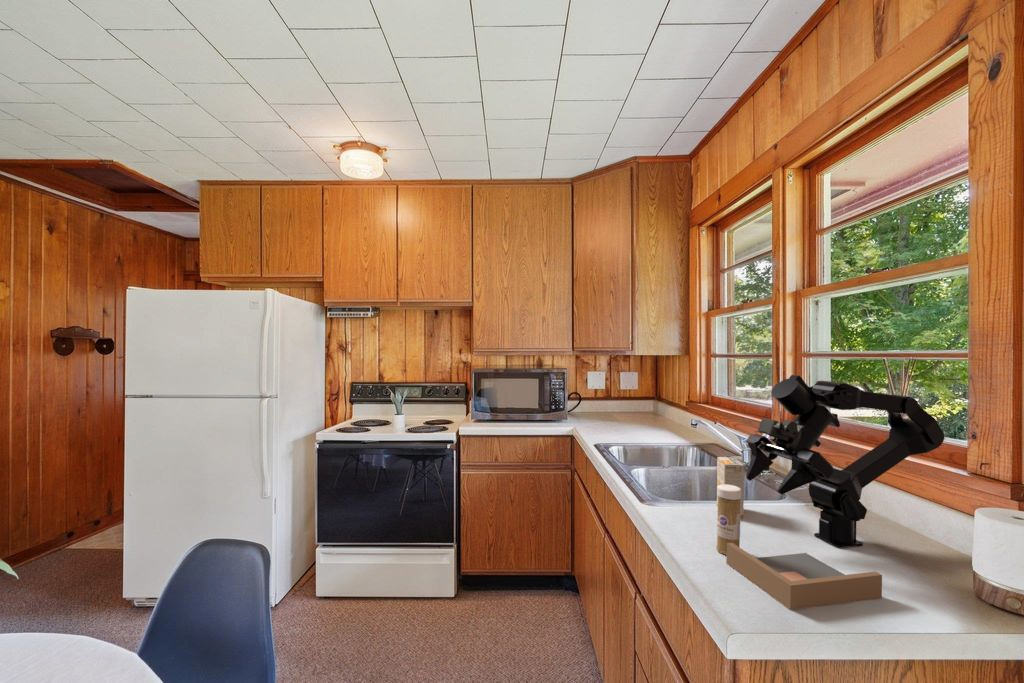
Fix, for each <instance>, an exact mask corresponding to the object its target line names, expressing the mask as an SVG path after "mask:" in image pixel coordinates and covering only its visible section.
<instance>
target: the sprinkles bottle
mask: <svg viewBox="0 0 1024 683" xmlns="http://www.w3.org/2000/svg"><path fill="white" fill-rule="evenodd" d="M717 495H718V506H717V519H716V536H717V537H716V550H717V552H719V553H721V554H723V555H726V556H727V543H733V544H735V545H736V546H738V547H740V545H741V544H740V542H741V541H740V538H741V518H740V500H741V489H740V488H739V487H737V486H733V485H727V484H722V485H719V486H718V487H717V486H716V496H717ZM740 548H741V547H740Z"/></svg>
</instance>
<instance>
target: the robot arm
mask: <svg viewBox="0 0 1024 683" xmlns="http://www.w3.org/2000/svg"><path fill="white" fill-rule="evenodd" d="M771 396H772V398H774V399H775V400H776V401H777V402H778V403H779V404H780V406H781V407H783V408H784V409H785V411H786V412H787V413H788V414H789V415H791V416H795V418H794V419H793V420H788V419H785V420H784V421H783V422H781V421H777V420H773V419H769V418H766V417H761V420H760V423H759V427H758V428H757V432H758V433H761V434H762V433H763V434H765V435H767V436H769V437H770V438H767V436H764V435H761V434H757V433H751V434H750V435H749V436H748V437H747V439H746V440H745V442H746V443H747V446H748V448H749V449H750V452H751V457H750V462H749V465H748V469H747V473H746V476H745V479H746V480H748V481H752V480H754V479H755V478H756V477H758V476H759V475H760V474H762V473H763V472H764V471H765V470H766V469H768V468H769V467H770V466H772V464H774V462H773V461H774V460H776V459H777V458H778V457H780V458H783V459H786V460H789V461H791V468H790V470H789V471H788V473H787V475H785V477H784V478H783V480H782V481H781V483H780V485H779V486H778V488H777V493H778V494H780V495H784V494H786V493H789V492H791V491H793V490H795V489H797V488H800V487H802V486H805V485H808V484H809V485H808V493H809V496H810V498H811V502H812V504H813V508H817V509H819V510H820V517H819V520H818V532H815V533H814V534H813V536H814V537H816V538H817V539H820V540H822V541H824V542H826V543H827V544H830V545H832V546H833V547H836V548H841V549H842V548H850V547H859V546H860V547H861V546H863V545H864V543H863V542H862V541H860V540H858V539H857V522H860V520H865V518H866V515H867V511H868V509H867V507H866V506H865V505H864V504H863V503H862V502H861V501H860V500H861V498H862V497H861V496H862V491H863V489H864V488H865V487H867V486H868V485H870V483H872V482H873V481H876V480H877V478H879V477H881V476H882V475H883V474H885V473H887V472H888V471H889V470H890V469H892V468H894V467H895V466H897V465H898V464H899V463H901V462H902V461H904V460H905V459H907V458H908V457H910V456H914V455H915V456H916V455H917V456H918V455H922V454H927V453H930V452H933V451H934V450H937V449H938V448H939V447H941V446H942V444H944V443H943V442H944V440H945V433H944V431H943V429H942V428H941V426H940V424H939V423H938V421H937V420H936V418H935V417H934V416H932V415H931V414H930V413H928V411H926V410H925V409H924V408H922V407H921V405H920V404H919V403H918V401H917V399H916V398H914V397H912V396H909V395H900V394H885V393H880V392H872V391H866V390H862V389H860V388H859V387H858V386H855V385H852V384H850V383H846V382H837V381H829V380H818V381H817V380H816V382H815V383H814V385H812V386H809V385H808V384H807V383H806V381H804V379H803V378H802V377H801V376H800V375H796V374H795V375H794V374H791V375H790V376H789V377H788V378H785V379H783V380H781V381H779V382H778V383H776V384H775V385H774V386H773V387H772V389H771ZM828 408H829V409H835V410H840V411H848V410H850V411H851V410H856V409H858V408H859V409H860V408H864V409H865V408H866V409H873V410H878V411H879V410H881V411H885V412H887V413H888V416H887V423H888V425H889V427H890V429H889V431H888V438H887V439H886V440H884V441H883V442H881V443H880V444H878V445H877V446H874V448H872V449H871V450H870V451H868V452H866V453H865V454H864V455H862V456H860V457H859V458H857V459H856V460H855V461H854V462H851V463H850V464H849V465H847V466H846V467H844V468H842V469H838V468H836V467H835V468H834V466H833V465H832V464H831V463H830V461H828V460H827V458H825V456H823V455H822V454H821V453H820V451H815V450H812V448H813V447H817V448H819V447H820V446H821V442H820V441H819V439H820V437H821V436H822V435H823V433H824V432H825V431H826V430H827V428H828V427H829V426H831V427H836V428H839V427H840V425H841V424H840V420H839V418H838V416H839V415H838V414H837V413H833V412H831V411H830V410H829V409H828ZM901 414H902V415H906V416H907V418H903V416H902V415H901ZM773 443H775V444H773Z"/></svg>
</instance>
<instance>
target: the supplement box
mask: <svg viewBox="0 0 1024 683" xmlns="http://www.w3.org/2000/svg"><path fill="white" fill-rule="evenodd" d="M716 460H717V461H716V462H717V465H716V466H717V467H716V468H717V469H716V470H717V471H716V474H717V475H716V476H717V478H716V488H717V487H718V486H719V485H722V484H727V485H733V486H737V487H739V488H740V489H741V500H740V519H743V518H744V505H745V504H744V498H745V496H744V495H745V492H744V491H745V490H744V489H745V487H744V485H745V482H744V481H745V476H744V475H745V465H744V464H743V463H742V462H741V461H740V460H739V459H737V457H731V456H728V457H727V456H717V459H716ZM716 506H717V507H718V495H717V494H716Z"/></svg>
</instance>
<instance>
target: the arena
mask: <svg viewBox="0 0 1024 683" xmlns="http://www.w3.org/2000/svg"><path fill="white" fill-rule="evenodd" d="M726 565H727V566H729V567H730V568H732V569H733V570H734V571H736V572H737V573H739V574H740V575H742V576H743V577H745V579H747V580H749V581H750V582H751V583H752V584H754V585H756V586H757V587H758V588H760V589H761V590H762V591H764V592H765V593H766V594H768V595H769V596H771V597H772V598H773V599H775V600H776V601H777V602H779V603H780V604H782V606H784V607H785V608H786V609H788V610H789V611H791V610H801V609H807V608H808V609H809V608H817V607H824V606H831V605H840V604H846V603H848V604H849V603H855V602H861V601H863V602H864V601H870V600H877V599H882V598H883V574H881V573H880V572H878V571H866V572H859V573H851V574H845V573H843V572H841V571H839V570H837V569H835V568H834V567H832V566H830V565H828V564H827V563H825V562H823V561H822V560H821V561H820V560H819V559H817V558H816V557H814V556H812V555H810V554H808V552H804V553H803V552H801V553H792V554H783V555H782V554H781V555H770V556H761V557H755V556H753V555H751V553H749V552H748V551H745V550H744V549H743V548H741V547H738V546H736V545H735V544H733V543H727V555H726Z"/></svg>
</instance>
